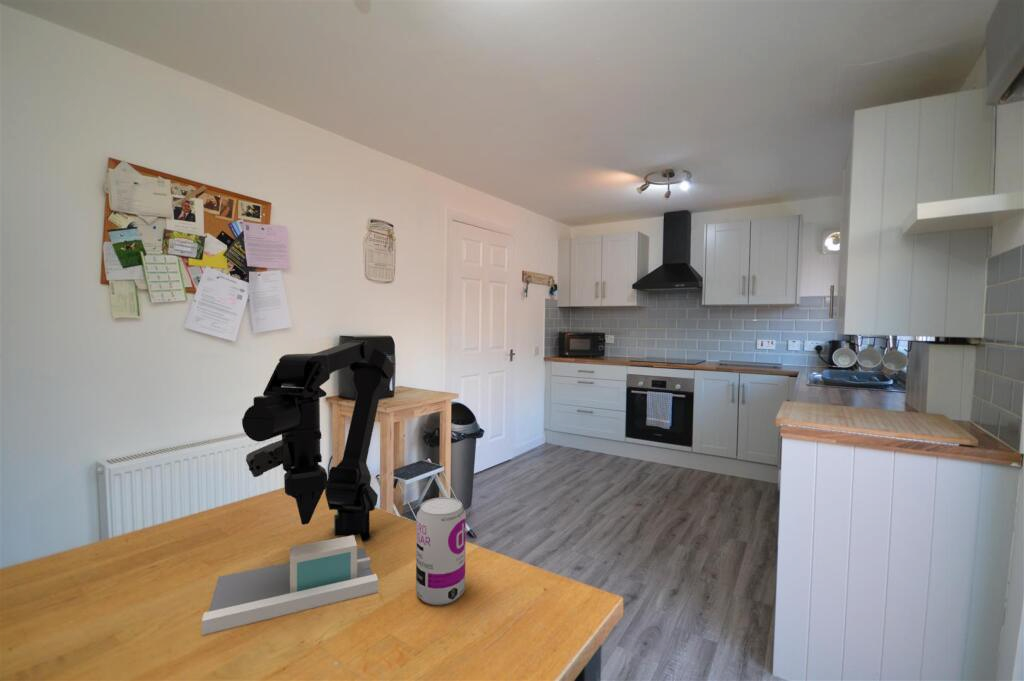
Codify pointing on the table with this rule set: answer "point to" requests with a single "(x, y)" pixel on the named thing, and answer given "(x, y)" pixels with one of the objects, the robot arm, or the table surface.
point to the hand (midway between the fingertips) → (303, 513)
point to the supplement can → (440, 550)
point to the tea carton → (322, 563)
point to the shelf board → (277, 595)
